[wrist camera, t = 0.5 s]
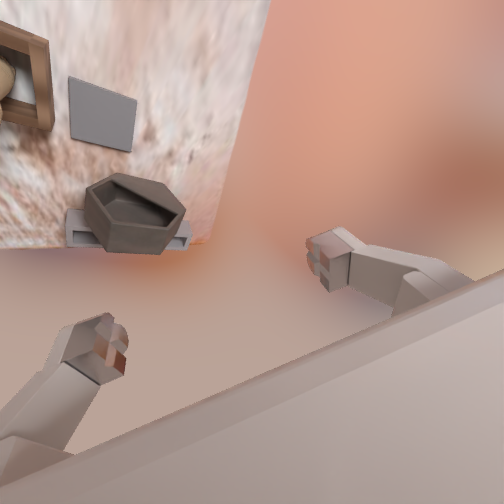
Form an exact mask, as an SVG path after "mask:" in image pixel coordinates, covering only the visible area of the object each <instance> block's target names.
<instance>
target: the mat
mask: <svg viewBox="0 0 504 504" xmlns="http://www.w3.org/2000/svg"><path fill="white" fill-rule="evenodd" d="M69 97H70V120H71V138H75V139H79V140H83V141H87V142H91V143H95V144H99V145H104V146H108V147H112V148H116V149H120V150H124V151H129V152H131V149H132V140H133V132H134V124H135V116H136V107H137V100H135V99H132V98H129V97H126V96H124V95H121V94H118V93H115V92H112V91H110V90H107V89H104V88H101V87H99V86H96V85H93V84H90V83H87V82H85V81H82V80H79V79H76V78H73V77H71V76H69Z"/></svg>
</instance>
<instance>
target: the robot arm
mask: <svg viewBox="0 0 504 504" xmlns="http://www.w3.org/2000/svg"><path fill="white" fill-rule="evenodd" d="M306 247H307V249H308V250H309V252H308V253H307V262H308V265H309V267H310V269H311V271H312V272H313V274H314V275H316V276H319V277H320V282H321V283H322V285H323V286H324V287H325V288H326V289H327V291H328V292H329V293H330V292H332V291H335V290H338V289H341V288H343V287H346V286H348V287H350V288H352V289H354V290H356V291H359V292H361V293H363V294H365V295H367V296H370V297H372V298H374V299H376V300H379V301H380V302H383V303H385V304H387V305H389V306H391V307H394V309H393V312H392V316H391V318H390V319H387V320H385V321H383V322H381V323H378V324H376V325H373V326H371V327H369V328H367V329H365V330H362V331H360V332H358V333H355V334H353V335H350V336H348V337H346V338H344V339H341V340H339V341H337V342H334V343H332V344H330V345H328V346H325V347H323V348H320V349H318V350H316V351H314V352H311V353H309V354H307V355H304V356H302V357H300V358H297V359H295V360H293V361H290V362H288V363H286V364H284V365H281V366H279V367H277V368H274V369H272V370H270V371H267V372H265V373H263V374H260V375H258V376H256V377H254V378H252V379H249V380H247V381H244V382H242V383H240V384H237V385H235V386H233V387H231V388H228V389H226V390H224V391H221V392H219V393H217V394H215V395H212V396H210V397H208V398H205V399H203V400H201V401H198V402H196V403H194V404H192V405H189V406H187V407H185V408H182V409H180V410H178V411H176V412H173V413H171V414H169V415H166V416H164V417H162V418H160V419H157V420H155V421H152V422H150V423H148V424H145V425H143V426H141V427H139V428H136V429H134V430H132V431H129V432H127V433H125V434H122V435H120V436H118V437H116V438H113V439H111V440H109V441H106V442H104V443H102V444H99V445H97V446H95V447H92V448H91V449H88V450H86V451H84V452H81V453H79V454H76V455H74V454H71V453H68V452H65V451H63V450H64V448H65V446H66V445H67V443H68V441H69V440H70V438H71V436H72V435H73V433H74V431H75V429H76V428H77V426H78V424H79V423H80V421H81V419H82V418H83V416H84V414H85V412H86V411H87V409H88V407H89V406H90V404H91V402H92V401H93V399H94V397H95V396H96V394H97V392H98V390H99V389H100V386H101V385H103V384H105V383H107V382H110V381H112V380H114V379H117V378H119V377H121V376H124V371H125V365H126V357H125V356H124V355H123V354H124V352H125V351H126V350H127V348H128V342H129V340H128V335H127V332H126V330H125V328H124V327H123V326H122V325H120V324H117V323H114V317H113V316H112V315H111V314H110V313H103V314H100V315H97V316H94V317H91V318H88V319H85V320H82V321H79V322H77V323H74V324H71V325H68V326H66V327H63V328H62V329H61V330H60V331H59V333H58V336H57V338H56V340H55V342H54V345H53V347H52V349H51V351H50V353H49V356H48V358H47V360H46V363H45V365H44V367H43V369H42V371H40V372H37V373H36V374H35V375H34V376H33V377H32V378H31V379H30V380H29V381H28V382H27V383H26V385H24V387H23V388H22V389H21V390H20V391H19V392H18V393H17V394H16V395H15V396H14V397H13V398H12V399H11V400H10V401H9V402H8V403H7V404H6V405H5V407H3V409H2V410H1V411H0V504H504V269H502V270H500V271H498V272H496V273H493V274H491V275H489V276H486V277H484V278H482V279H480V280H477V281H473V280H472V279H470V278H469V277H467V276H465V275H464V274H462V273H460V272H459V271H457V270H456V269H454V268H452V267H451V266H449V265H447V264H446V263H444V262H443V261H441V260H439V259H435V258H430V257H425V256H420V255H416V254H411V253H407V252H402V251H398V250H393V249H389V248H384V247H379V246H374V245H368V246H367V245H365V244H364V243H363V242H361V241H360V240H359V239H357V238H356V237H355V236H353V235H352V234H351V233H349V232H348V231H347V230H345V229H344V228H343V227H340V226H339V227H336V228H333V229H331V230H329V231H327V232H324V233H321V234H318V235H316V236H313V237H310V238H308V239H306Z"/></svg>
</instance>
